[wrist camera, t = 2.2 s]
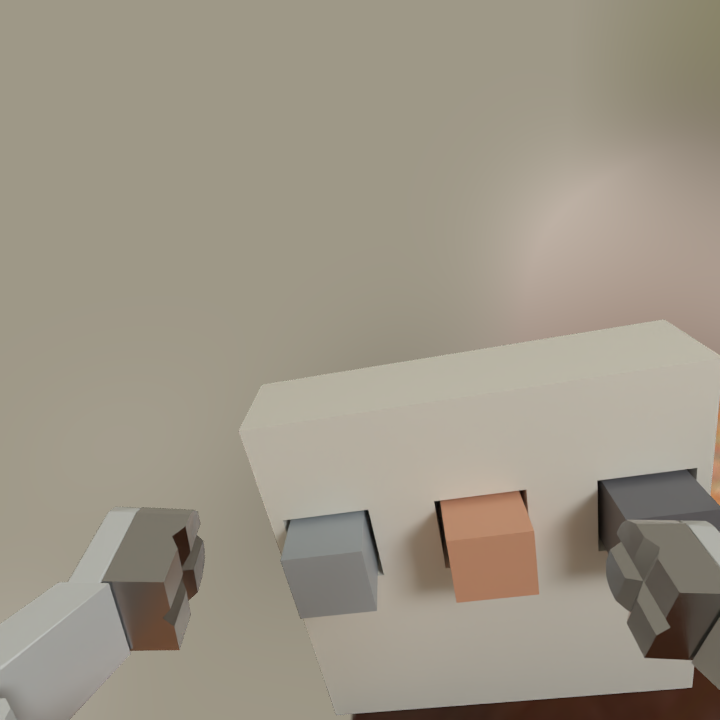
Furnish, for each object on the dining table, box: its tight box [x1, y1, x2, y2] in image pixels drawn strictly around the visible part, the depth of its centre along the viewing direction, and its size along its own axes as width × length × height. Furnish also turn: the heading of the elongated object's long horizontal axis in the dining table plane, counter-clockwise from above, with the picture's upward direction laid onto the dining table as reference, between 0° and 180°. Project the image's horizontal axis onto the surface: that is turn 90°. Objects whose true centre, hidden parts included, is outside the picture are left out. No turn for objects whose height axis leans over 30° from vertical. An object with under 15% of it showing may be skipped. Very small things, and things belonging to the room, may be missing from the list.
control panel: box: [239, 320, 720, 715], centre depth 29 cm, size 5×22×22 cm, turn 87°
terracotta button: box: [440, 491, 539, 603], centre depth 26 cm, size 4×4×4 cm
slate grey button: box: [280, 510, 378, 619], centre depth 27 cm, size 4×4×4 cm
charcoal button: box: [597, 469, 720, 554], centre depth 25 cm, size 4×4×4 cm
